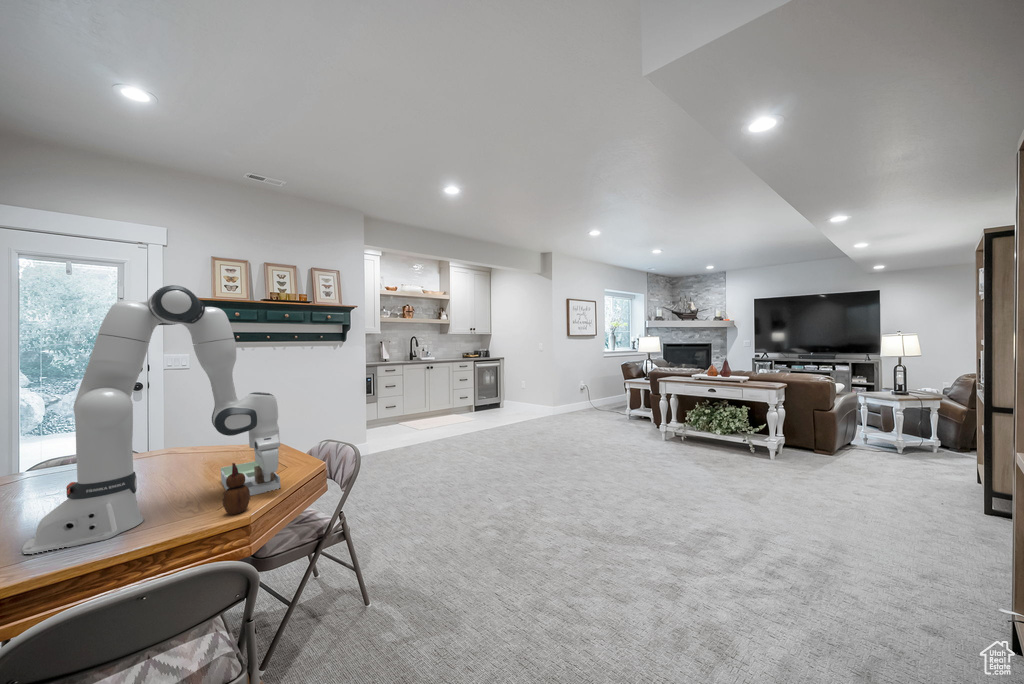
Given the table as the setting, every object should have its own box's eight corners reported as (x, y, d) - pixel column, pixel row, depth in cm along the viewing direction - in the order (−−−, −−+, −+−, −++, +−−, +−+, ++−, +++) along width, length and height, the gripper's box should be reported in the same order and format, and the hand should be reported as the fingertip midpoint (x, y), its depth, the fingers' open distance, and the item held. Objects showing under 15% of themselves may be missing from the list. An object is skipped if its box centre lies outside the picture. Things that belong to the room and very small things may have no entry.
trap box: (231, 500, 132) (230, 484, 132) (221, 481, 153) (220, 467, 153) (280, 488, 141) (279, 473, 141) (264, 472, 162) (264, 459, 162)
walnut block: (257, 483, 140) (256, 469, 140) (255, 481, 144) (254, 466, 144) (274, 480, 144) (273, 465, 144) (271, 477, 147) (270, 463, 148)
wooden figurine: (239, 516, 118) (236, 464, 118) (219, 517, 118) (216, 464, 118) (254, 507, 125) (252, 457, 125) (235, 507, 125) (233, 458, 125)
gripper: (249, 437, 146) (251, 476, 146) (258, 446, 130) (261, 490, 130) (269, 433, 150) (271, 472, 150) (281, 442, 134) (283, 485, 134)
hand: (266, 480), depth 140 cm, fingers closed
